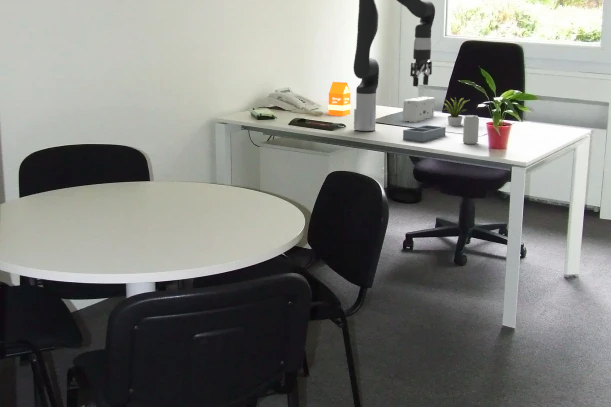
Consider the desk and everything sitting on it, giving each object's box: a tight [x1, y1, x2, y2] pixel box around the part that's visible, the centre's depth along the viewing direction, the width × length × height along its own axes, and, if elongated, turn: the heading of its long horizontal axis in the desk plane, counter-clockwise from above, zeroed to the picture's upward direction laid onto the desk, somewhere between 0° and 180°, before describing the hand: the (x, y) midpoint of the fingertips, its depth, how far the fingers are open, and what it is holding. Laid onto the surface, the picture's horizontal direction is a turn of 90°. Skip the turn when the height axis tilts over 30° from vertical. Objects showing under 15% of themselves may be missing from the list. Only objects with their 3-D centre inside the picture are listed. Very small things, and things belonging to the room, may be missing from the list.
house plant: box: [443, 96, 469, 127], centre depth 385 cm, size 14×14×16 cm
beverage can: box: [462, 114, 480, 145], centre depth 346 cm, size 6×6×12 cm
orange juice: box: [327, 81, 351, 117], centre depth 413 cm, size 8×9×20 cm
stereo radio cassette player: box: [402, 86, 437, 123], centre depth 401 cm, size 21×8×20 cm, turn 144°
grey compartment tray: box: [402, 124, 447, 143], centre depth 358 cm, size 20×10×4 cm, turn 142°
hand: (420, 85), depth 351 cm, fingers open, 8 cm apart
